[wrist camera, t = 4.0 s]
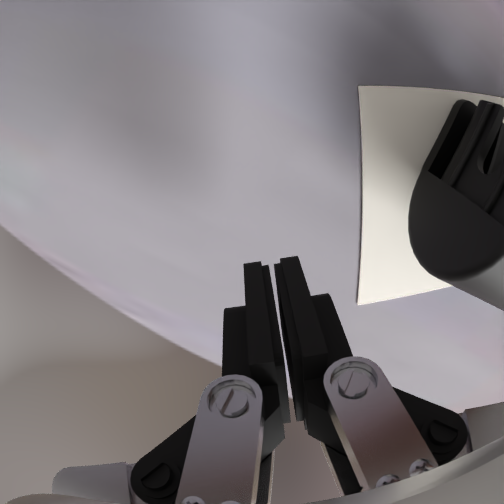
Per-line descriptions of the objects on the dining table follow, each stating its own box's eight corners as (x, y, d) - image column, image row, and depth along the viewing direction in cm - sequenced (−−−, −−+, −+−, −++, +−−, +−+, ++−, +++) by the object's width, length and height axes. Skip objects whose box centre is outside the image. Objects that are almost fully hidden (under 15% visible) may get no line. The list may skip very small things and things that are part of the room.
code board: (357, 85, 11) (358, 86, 11) (556, 109, 10) (558, 110, 10) (357, 304, 16) (357, 305, 16) (528, 265, 16) (529, 266, 16)
